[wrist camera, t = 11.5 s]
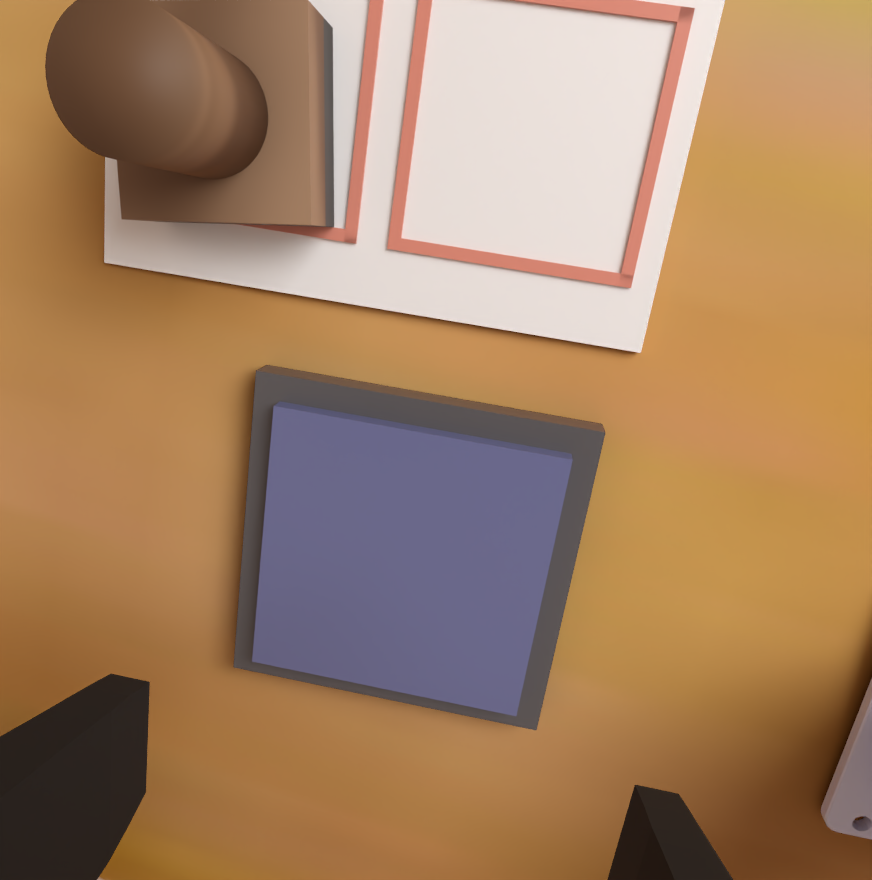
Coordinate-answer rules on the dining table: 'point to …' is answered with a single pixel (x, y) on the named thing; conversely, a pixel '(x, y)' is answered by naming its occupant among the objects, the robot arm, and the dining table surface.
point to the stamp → (203, 106)
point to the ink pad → (409, 543)
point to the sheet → (481, 167)
